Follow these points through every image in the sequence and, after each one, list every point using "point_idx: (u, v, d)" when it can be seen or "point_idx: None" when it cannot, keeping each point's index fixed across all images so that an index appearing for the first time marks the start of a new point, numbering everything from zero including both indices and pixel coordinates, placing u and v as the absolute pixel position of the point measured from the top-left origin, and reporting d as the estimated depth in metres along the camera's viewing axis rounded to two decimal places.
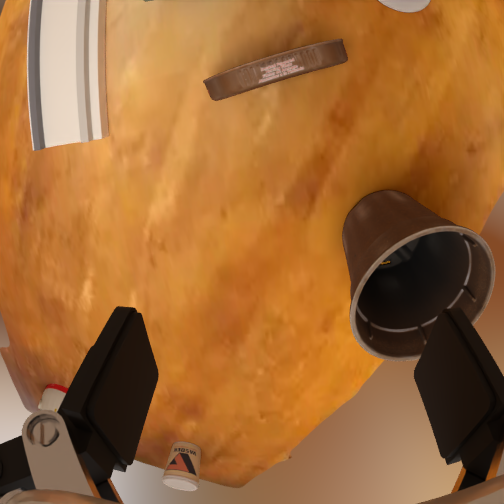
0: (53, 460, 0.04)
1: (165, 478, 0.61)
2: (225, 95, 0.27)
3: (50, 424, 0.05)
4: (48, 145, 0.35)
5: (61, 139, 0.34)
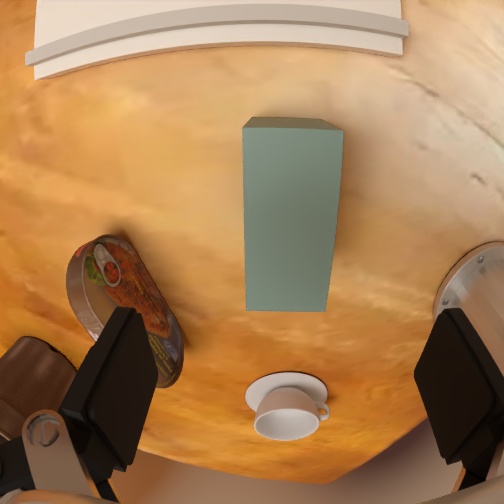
0: (53, 460, 0.04)
1: None
2: (67, 290, 0.21)
3: (50, 424, 0.05)
4: None
5: (42, 9, 0.15)
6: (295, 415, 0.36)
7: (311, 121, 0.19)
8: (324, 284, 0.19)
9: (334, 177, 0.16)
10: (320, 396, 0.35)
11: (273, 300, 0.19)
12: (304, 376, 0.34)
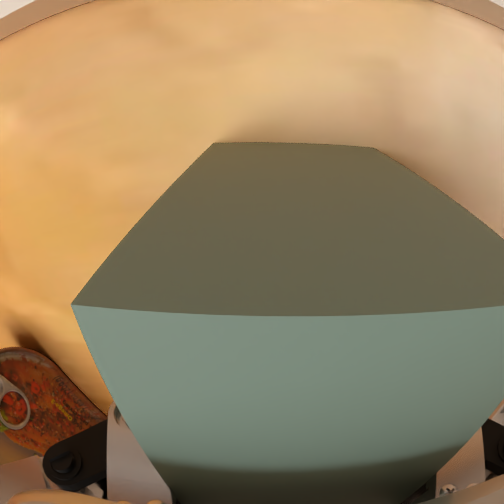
0: (136, 445, 0.05)
1: None
2: None
3: None
4: None
5: None
6: None
7: (371, 167, 0.07)
8: None
9: (465, 433, 0.03)
10: None
11: None
12: None
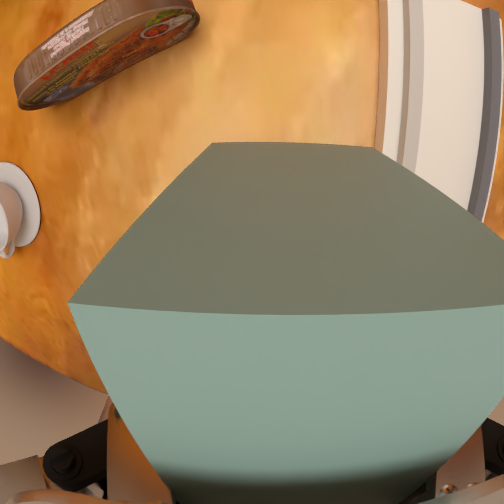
0: (136, 445, 0.05)
1: None
2: None
3: None
4: (476, 9, 0.15)
5: (455, 4, 0.15)
6: None
7: (370, 166, 0.07)
8: None
9: (463, 433, 0.03)
10: (18, 239, 0.29)
11: None
12: (37, 218, 0.28)
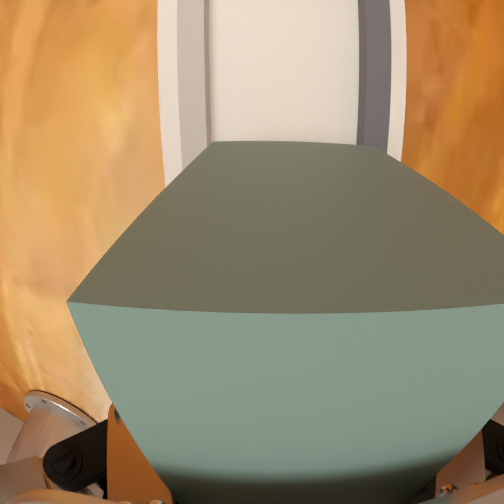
0: (136, 445, 0.05)
1: None
2: None
3: None
4: None
5: None
6: None
7: (372, 165, 0.07)
8: None
9: (467, 433, 0.03)
10: None
11: None
12: None
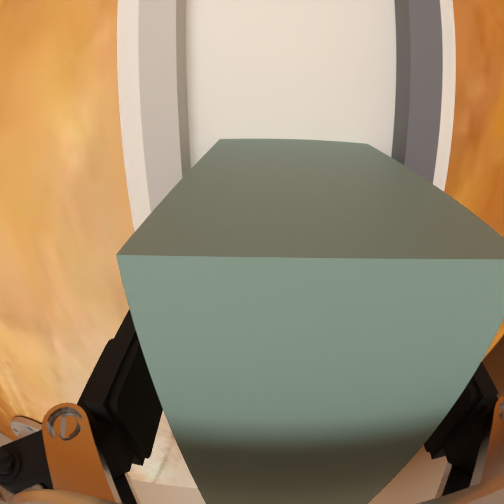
0: (72, 454, 0.05)
1: None
2: None
3: (72, 418, 0.05)
4: None
5: None
6: None
7: (364, 159, 0.07)
8: None
9: (451, 390, 0.04)
10: None
11: None
12: None
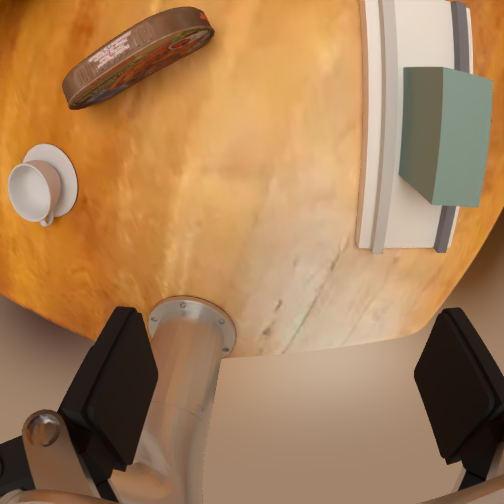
0: (53, 460, 0.04)
1: None
2: (170, 10, 0.18)
3: (50, 424, 0.05)
4: (445, 2, 0.19)
5: (425, 1, 0.19)
6: (32, 196, 0.33)
7: None
8: (480, 184, 0.21)
9: (488, 108, 0.18)
10: (56, 210, 0.35)
11: (450, 196, 0.22)
12: (74, 190, 0.34)
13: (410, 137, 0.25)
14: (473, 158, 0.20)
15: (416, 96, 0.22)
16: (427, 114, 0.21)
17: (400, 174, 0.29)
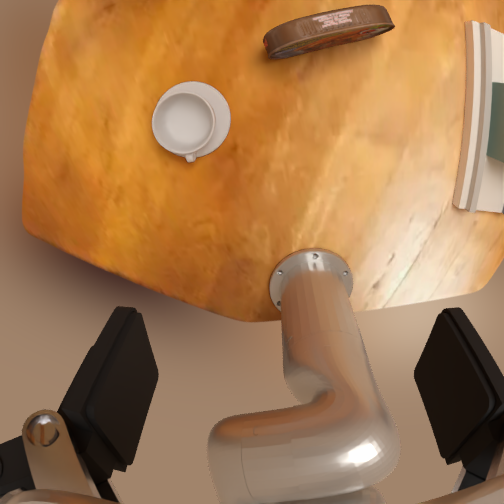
0: (53, 460, 0.04)
1: None
2: (379, 6, 0.23)
3: (50, 424, 0.05)
4: None
5: None
6: (171, 132, 0.37)
7: None
8: None
9: None
10: (195, 151, 0.39)
11: None
12: (225, 130, 0.38)
13: (498, 129, 0.30)
14: None
15: None
16: None
17: (488, 154, 0.34)
